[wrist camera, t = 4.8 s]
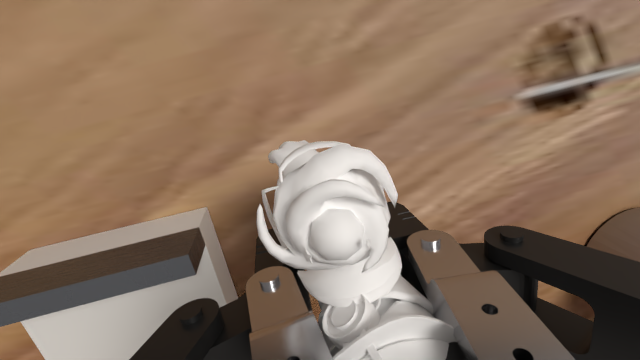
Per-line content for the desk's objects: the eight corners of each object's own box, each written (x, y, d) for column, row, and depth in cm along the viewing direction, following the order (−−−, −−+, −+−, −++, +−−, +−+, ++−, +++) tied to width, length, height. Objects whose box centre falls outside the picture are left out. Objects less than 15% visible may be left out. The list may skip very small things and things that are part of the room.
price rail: (198, 227, 18) (188, 254, 15) (205, 244, 19) (196, 274, 16) (-8, 278, 17) (-61, 318, 14) (4, 296, 17) (-45, 338, 15)
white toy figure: (374, 263, 17) (600, 646, 6) (304, 289, 17) (391, 744, 5) (325, 95, 14) (615, 191, 2) (238, 124, 13) (106, 383, 2)
